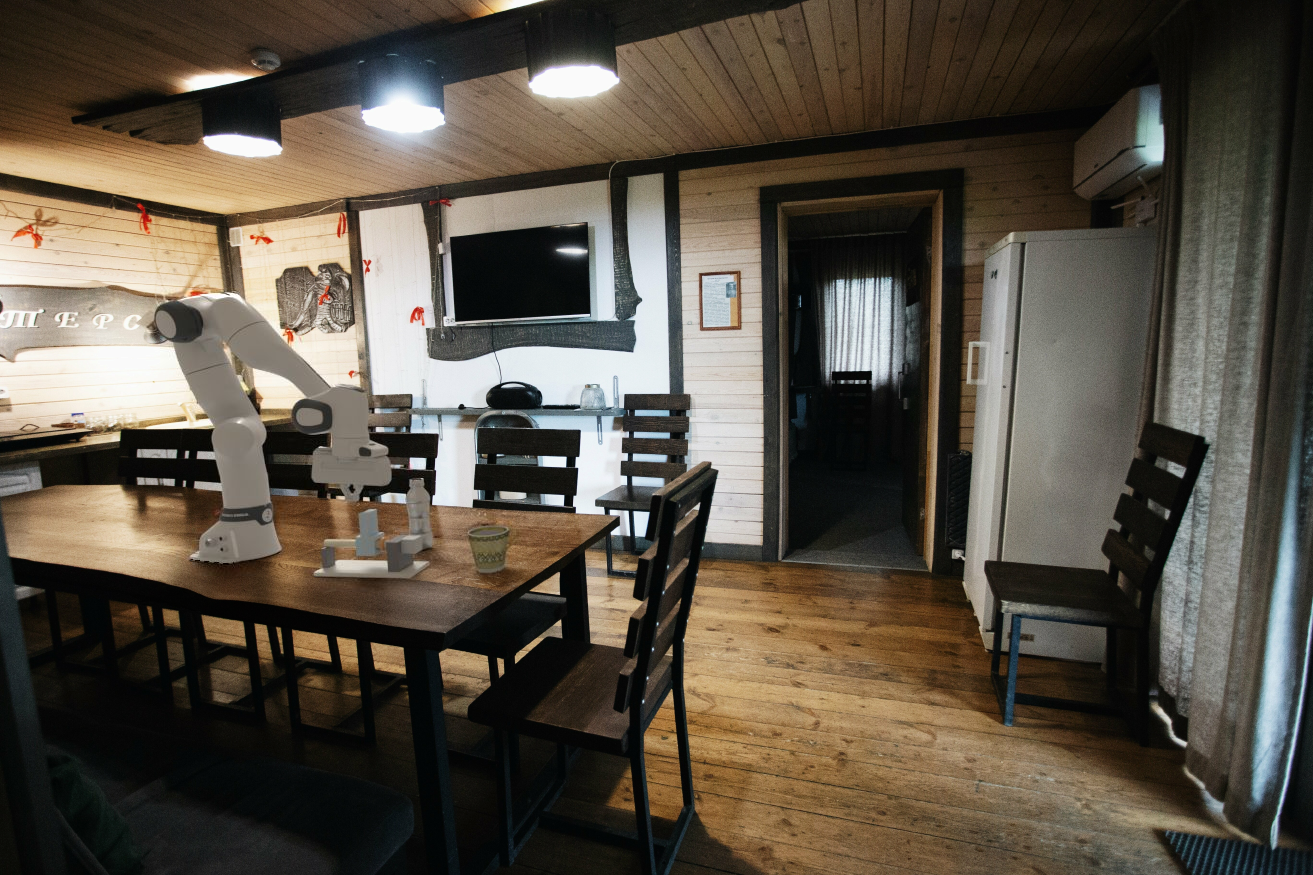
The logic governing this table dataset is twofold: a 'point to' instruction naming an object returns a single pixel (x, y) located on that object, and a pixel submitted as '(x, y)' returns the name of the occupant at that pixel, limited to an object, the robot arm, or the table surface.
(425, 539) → the plastic bottle
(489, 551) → the ceramic cup
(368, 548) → the pale blue stacked blocks
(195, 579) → the table surface
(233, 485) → the robot arm
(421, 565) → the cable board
